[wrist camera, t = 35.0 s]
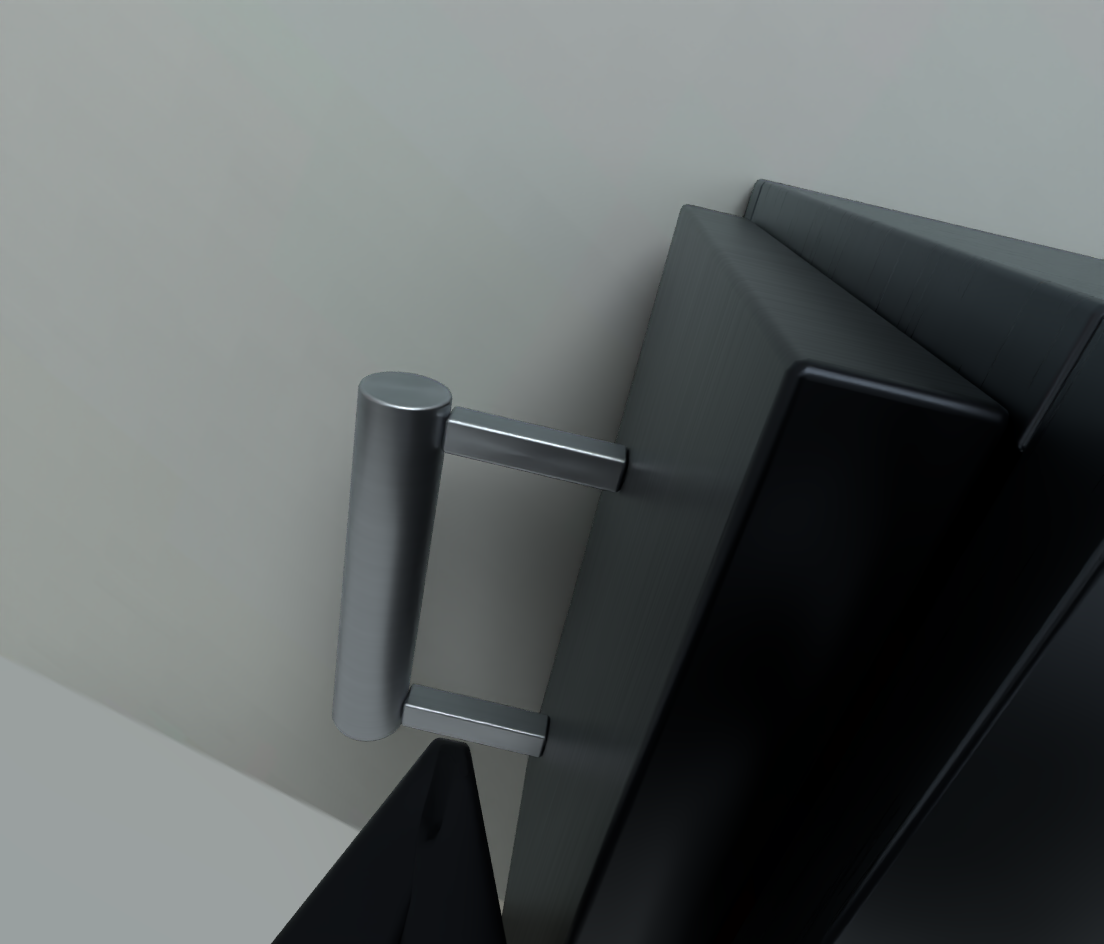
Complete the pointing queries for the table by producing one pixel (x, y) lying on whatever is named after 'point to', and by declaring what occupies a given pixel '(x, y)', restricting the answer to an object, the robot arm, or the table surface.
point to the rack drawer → (682, 578)
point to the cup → (840, 739)
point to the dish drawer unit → (972, 617)
